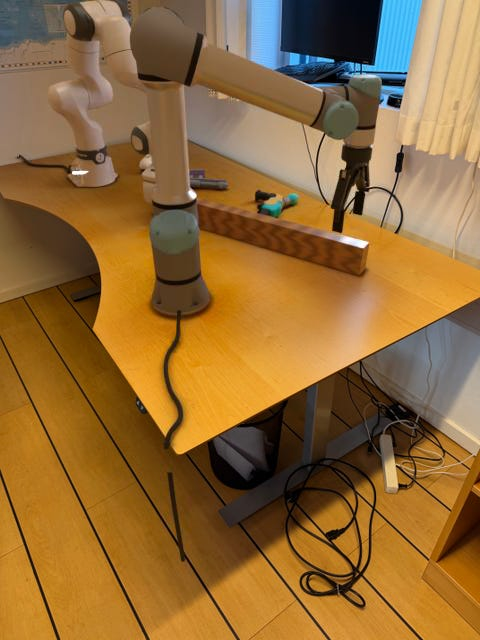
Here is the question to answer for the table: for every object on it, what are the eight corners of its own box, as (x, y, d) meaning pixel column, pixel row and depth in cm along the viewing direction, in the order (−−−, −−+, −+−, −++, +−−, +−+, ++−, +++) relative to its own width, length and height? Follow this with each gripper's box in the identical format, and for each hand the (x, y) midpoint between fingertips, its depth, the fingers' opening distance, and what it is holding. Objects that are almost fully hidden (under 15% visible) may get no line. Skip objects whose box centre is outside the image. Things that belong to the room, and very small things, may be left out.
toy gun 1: (234, 179, 200) (226, 192, 189) (191, 176, 204) (181, 189, 192) (234, 170, 198) (226, 182, 186) (191, 167, 201) (180, 179, 189)
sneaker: (133, 173, 208) (129, 144, 201) (161, 153, 230) (158, 127, 223) (155, 175, 205) (151, 146, 198) (180, 155, 227) (178, 129, 220)
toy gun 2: (232, 207, 164) (271, 215, 159) (264, 184, 183) (300, 190, 177) (232, 219, 167) (271, 227, 161) (263, 195, 186) (299, 202, 180)
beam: (365, 269, 138) (369, 242, 133) (359, 275, 136) (363, 248, 130) (161, 210, 175) (159, 187, 170) (153, 214, 172) (150, 191, 167)
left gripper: (178, 159, 169) (181, 196, 177) (137, 175, 155) (143, 215, 163) (192, 162, 166) (194, 199, 174) (151, 179, 152) (156, 219, 161)
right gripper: (363, 130, 129) (353, 204, 142) (322, 154, 113) (314, 236, 125) (389, 134, 126) (377, 210, 138) (351, 159, 109) (341, 243, 122)
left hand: (169, 207), depth 169 cm, fingers closed on beam, 4 cm apart
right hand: (347, 222), depth 132 cm, fingers open, 13 cm apart
